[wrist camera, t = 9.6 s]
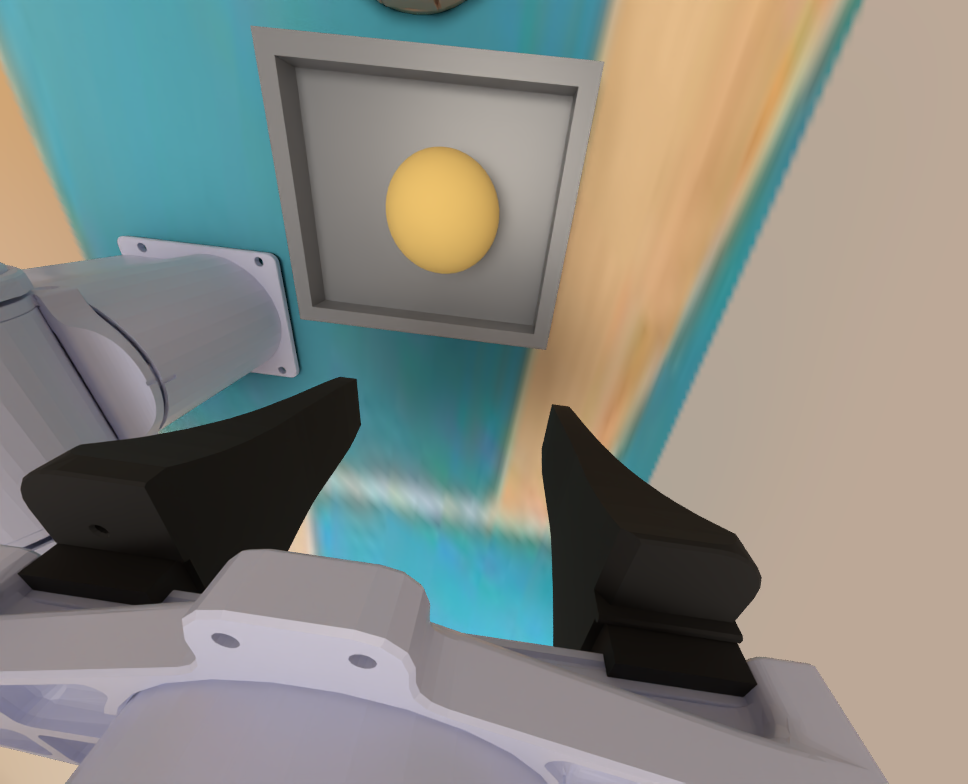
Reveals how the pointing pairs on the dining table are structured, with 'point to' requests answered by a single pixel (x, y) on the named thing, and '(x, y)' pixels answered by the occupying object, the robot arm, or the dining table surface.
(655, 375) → the dining table surface
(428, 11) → the copper shallow bowl
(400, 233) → the ball
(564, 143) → the tray
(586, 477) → the robot arm
